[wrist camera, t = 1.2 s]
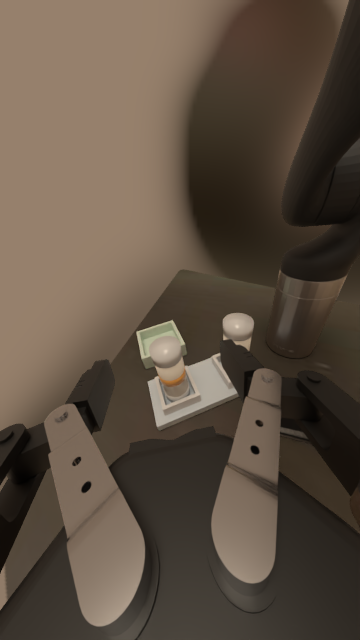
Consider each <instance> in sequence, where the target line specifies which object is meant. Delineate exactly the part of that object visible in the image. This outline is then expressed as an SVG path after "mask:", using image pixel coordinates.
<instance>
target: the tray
mask: <svg viewBox="0 0 360 640" xmlns="http://www.w3.org/2000/svg"><path fill="white" fill-rule="evenodd" d="M163 336H173V337H175V338H177V339H178V340H179V342H180V346H181V350H182V356H184V355H187V351H186V346H185V343H184V341H183V339H182V337H181V335H180V333H179V331H178V329H177V328H176V326H175V324H174V322H173V320H172V321H169V322H166V323H163V324H159V325H156V326H153V327H150V328H147V329H144V330H141V331H138V332H137V337H138V342H139V347H140V353H141V358H142V361H143V363H144V365H145V368H146V369H148V368H151V367H154V366H155V365H154V363H153V361H152V358H151V356H150V353H149V347H150V345H151V343H152V342H153V341H154V340H156V339H157V338H160V337H163Z"/></svg>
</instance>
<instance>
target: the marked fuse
mask: <svg viewBox="0 0 360 640" xmlns="http://www.w3.org/2000/svg"><path fill="white" fill-rule="evenodd" d="M149 353H150V356H151V358H152V361H153V363H154V365H155V367H156V370H157V372H158V376H159V378H160V381H161V383H162V385H163V389H164V392H165V395H166V398H167V399H168V401H170V402H171V403H172V402H175V401H177V400H180V399H182V398H185V397H187V396H189V394H190V388H189V383H188V380H187V376H186V370H185V366H184V363H183V358H182V350H181V346H180V342H179V340H178V339H177V338H175V337H173V336H163V337H160V338H157V339H156V340H154V341H153V342H152V343H151V345H150V347H149Z"/></svg>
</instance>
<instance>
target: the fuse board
mask: <svg viewBox="0 0 360 640" xmlns="http://www.w3.org/2000/svg"><path fill="white" fill-rule="evenodd" d="M185 370H186V376H187V380H188V383H189V388H190V394H189V396H187V397H185V398H182V399H180V400H177V401H175V402H172V403H171V402H170V401H168V399H167V398H166V395H165V392H164V389H163V385H162V383H161V381H160V378H159V376H158V377H155V379H154V380H151V381H148V385H149V390H150V395H151V400H152V405H153V410H154V415H155V419H156V424H157V428H158V430H159V431H160V430H163V429H165V428H167V427H170V426H172V425H174V424H177V423H179V422H181V421H184V420H186V419H188V418H191V417H193V416H195V415H198V414H200V413H202V412H205V411H207V410H209V409H211V408H214V407H216V406H218V405H221V404H223V403H225V402H228V401H230V400H232V399H235V398H237V397H239V395H238V393H237V391H236V390H235V388H234V386H233V384H232V383H231V381H230V379H229V377H228V376H227V374H226V372H225V370H224V369H223V367H222V364H221V359H220V353H219V354H216V355H214V356H212V358H209V359H207V360H204V361H201V362H199V363H196V364H193V365H191V366H188V367H187V366H185Z"/></svg>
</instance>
